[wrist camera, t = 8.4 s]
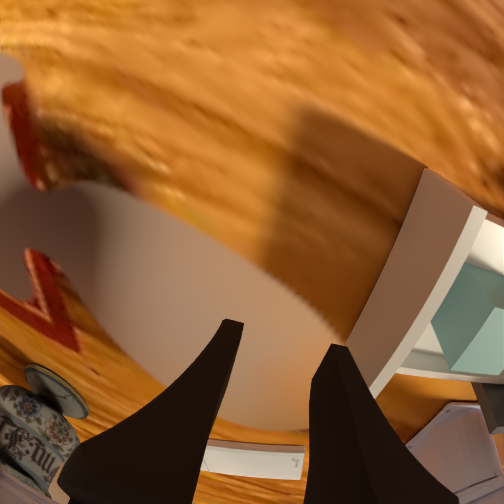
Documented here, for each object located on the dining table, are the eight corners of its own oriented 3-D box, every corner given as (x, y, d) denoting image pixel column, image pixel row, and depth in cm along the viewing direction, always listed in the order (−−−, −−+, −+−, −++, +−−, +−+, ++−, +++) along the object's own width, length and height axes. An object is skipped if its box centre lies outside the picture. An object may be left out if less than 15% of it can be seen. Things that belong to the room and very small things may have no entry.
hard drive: (304, 454, 28) (186, 444, 30) (300, 480, 32) (200, 472, 33) (305, 441, 29) (189, 432, 31) (301, 469, 33) (203, 461, 35)
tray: (501, 372, 21) (522, 419, 16) (342, 348, 21) (347, 415, 16) (580, 249, 15) (619, 288, 10) (424, 167, 15) (473, 205, 10)
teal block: (475, 329, 18) (498, 375, 14) (429, 319, 18) (449, 370, 15) (508, 277, 16) (540, 319, 12) (462, 261, 16) (494, 306, 12)
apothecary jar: (11, 340, 28) (-69, 451, 13) (96, 390, 29) (27, 528, 13) (27, 392, 34) (-29, 484, 19) (98, 432, 35) (51, 538, 19)
